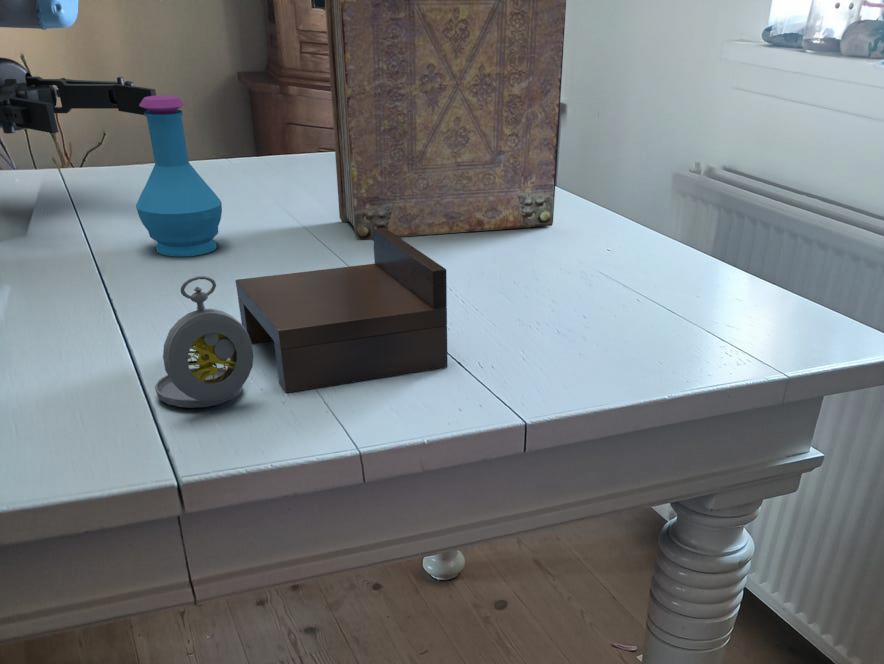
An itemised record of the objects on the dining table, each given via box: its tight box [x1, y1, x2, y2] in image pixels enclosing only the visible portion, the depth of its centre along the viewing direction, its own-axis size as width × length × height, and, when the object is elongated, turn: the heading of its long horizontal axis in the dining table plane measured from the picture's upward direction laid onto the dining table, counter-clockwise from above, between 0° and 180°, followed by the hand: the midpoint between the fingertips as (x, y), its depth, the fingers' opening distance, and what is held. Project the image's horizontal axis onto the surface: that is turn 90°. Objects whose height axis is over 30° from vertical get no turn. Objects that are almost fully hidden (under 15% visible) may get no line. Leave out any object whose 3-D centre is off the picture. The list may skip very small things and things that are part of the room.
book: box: [324, 0, 567, 241], centre depth 107 cm, size 25×9×30 cm, turn 107°
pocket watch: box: [154, 275, 254, 409], centre depth 69 cm, size 8×8×10 cm
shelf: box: [235, 228, 448, 394], centre depth 78 cm, size 14×14×8 cm
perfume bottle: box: [135, 94, 223, 257], centre depth 101 cm, size 9×9×15 cm
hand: (106, 110), depth 102 cm, fingers open, 13 cm apart
